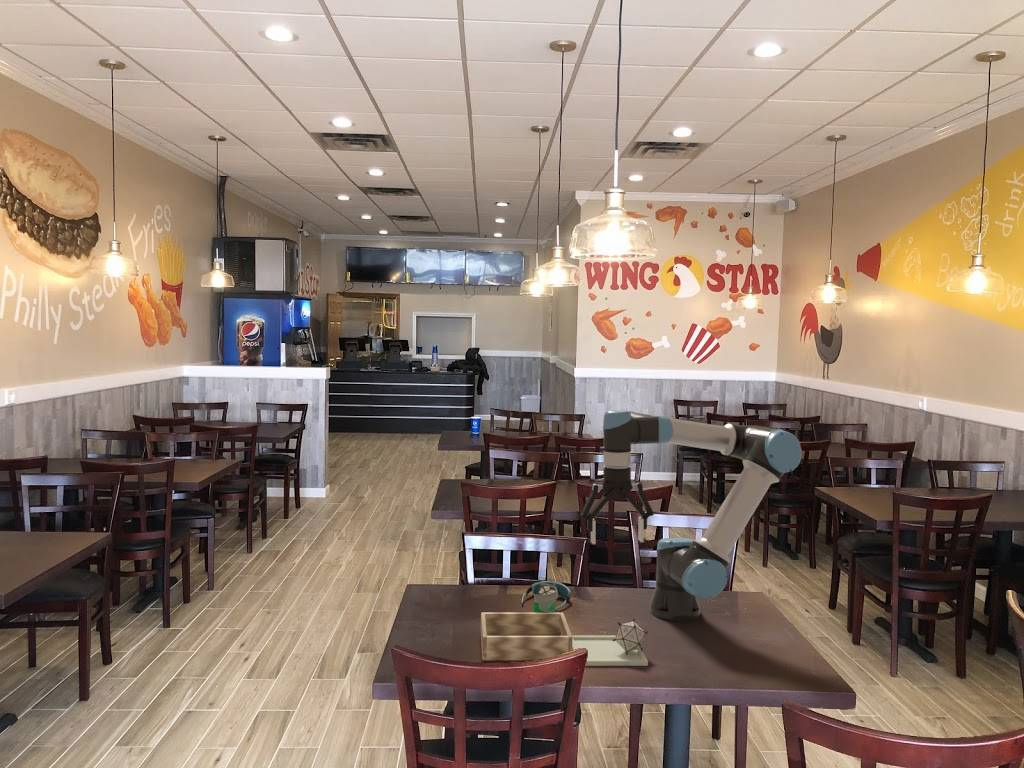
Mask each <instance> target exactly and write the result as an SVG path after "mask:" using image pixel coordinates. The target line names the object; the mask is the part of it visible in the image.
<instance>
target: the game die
mask: <svg viewBox="0 0 1024 768" xmlns="http://www.w3.org/2000/svg"><path fill="white" fill-rule="evenodd" d="M617 624H618V628H617V632H616V638H615V639H613V640H612V641H616V642H617V643H618V644H619V645H620V646H621V647H622V648H623V649H624V650H625V651H626V655H627V654H628V652H629V651H633V650H637V649H641V650H642V652H643V651H644V648H642V646H643V643H644V640H645V637H646V634H647V635H648V634H649V633H650V632H649V631H645V630H644V629H643V627H641V626H640V625H638V623H637V622H636V619H635V617H634V618H633V619H632V621H627V622H624V623H621V622H619V621H617Z"/></svg>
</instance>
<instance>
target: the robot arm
mask: <svg viewBox="0 0 1024 768" xmlns="http://www.w3.org/2000/svg"><path fill="white" fill-rule="evenodd" d="M602 430H603V435H602V436H603V465H604V467H603V469H602V470H603V481H602V484H596V483H592V484H591V490H590V491H591V492H590V493H589V495H588V496H587V497H588V498H587V500H586V502H585V503H584V505H583V508H582V510H581V511H580V516H581V518H582V519H584V520H585V519H586V530H587V531H588V532H590V542H591V544H592V545H596V543H597V542H596V539H597V538H596V534H597V532H596V520H595V517H596V516H597V514H599V513H600V511H601V509H603V507H604V506H605V505H606V504H607V503H608V502H609V501H610V500H612V501H618V500H619V501H624V500H625V499H626V500H627V502H629V503H630V505H632V507H633V508H634V509H635V510H636V511H637V513H638V514H639V515H640V516H638V517H637V523H638V524H637V527H638V528H637V539H638V540H637V541H639V542H640V543H644V542H645V541H644V536H645V535H644V534H645V533H644V531H645V530H647V528H648V519H649V517H653V516H654V515H655V513H654V511H653V509H652V507H651V505H650V503H649V501H648V498H647V497H646V494H645V492H644V489H643V484H642V483H641V482H639V481H636V482H635V483H632V481H631V480H632V478H631V477H632V468H631V467H630V466H631V465H632V456H631V454H632V452H631V451H632V445H644V444H645V445H646V444H658V445H659V444H665V443H666V444H671V445H678V446H679V445H680V446H686V447H691V448H698V449H704V450H705V449H706V450H711V451H718V452H720V453H721V454H722V455H724V456H727V457H728V456H729V457H733V458H737V459H740V460H742V465H743V470H742V472H741V473H740V474H739V476H738V478H737V479H736V481H735V482H734V484H733V486H732V488H731V489H730V491H729V493H728V494H727V495H726V497H725V499H724V501H723V502H722V504H721V506H720V507H719V509H718V511H716V514H715V515H714V517H713V519H712V520H711V522H710V523H709V525H708V527H707V528H706V530H705V532H704V533H703V536H702V537H700V538H697V539H693V538H687V537H666V538H665V537H664V538H661V539H659V540H658V541H657V545H656V570H655V571H656V573H655V579H656V580H655V588H654V592H653V593H652V596H651V600H650V601H649V606H648V607H649V609H648V610H649V613H650V614H652V615H653V616H654V617H656V618H659V619H662V620H666V621H670V622H671V621H672V622H691V621H694V620H697V619H698V618H700V616H701V607H700V604H699V600H698V599H702V600H703V599H704V600H706V599H707V600H708V599H711V598H712V599H713V598H714V597H717V596H718V595H719V594H720V593H722V592H723V591H724V589H725V587H726V586H727V583H728V572H727V568H728V567H729V566H730V563H731V561H730V557H729V554H730V553H731V552H732V551H731V550H732V549H733V548H734V546H735V544H736V543H737V541H738V539H739V538H740V536H741V534H742V533H743V531H744V529H745V528H746V526H747V524H748V523H749V521H750V519H751V518H752V516H753V515H754V513H755V511H756V510H757V508H758V507H759V505H760V503H761V501H762V500H763V498H764V496H765V494H766V493H767V491H768V490H769V488H770V486H771V485H772V484H775V483H779V482H780V481H781V479H782V477H783V476H784V474H786V473H789V472H792V471H794V470H795V469H796V468H798V466H799V465H800V463H801V460H802V456H803V451H802V447H801V443H800V441H799V439H798V438H797V437H796V435H795V434H794V433H791V432H789V431H786V430H785V429H782V428H772V427H768V426H762V425H754V424H753V425H748V424H747V425H742V424H732V423H727V424H725V425H717V424H709V423H704V422H697V421H690V420H685V419H678V418H677V419H676V418H671V417H668V416H661V415H653V414H652V415H651V414H645V413H639V412H635V411H631V410H630V411H629V410H625V409H624V410H623V409H618V410H617V409H610V410H607V411H605V412H604V415H603V426H602ZM601 490H602V491H603V493H602V494H603V495H601V498H599V500H598V501H597V503H596V504H594V502H595V500H596V498H597V496H598V493H600V491H601ZM632 490H634V491H635V492H636V494H637V495H638V497H639V500H640V501H641V503H642V505H643V507H644V509H645V511H644V510H643V508H642V507H641V506H640V505H639V504H638V503H637V502H636V500H635V499H634V498H633V497H632V495H631V494H630V493H631V491H632ZM593 504H594V506H593ZM592 506H593V508H592ZM591 508H592V509H591Z"/></svg>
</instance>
